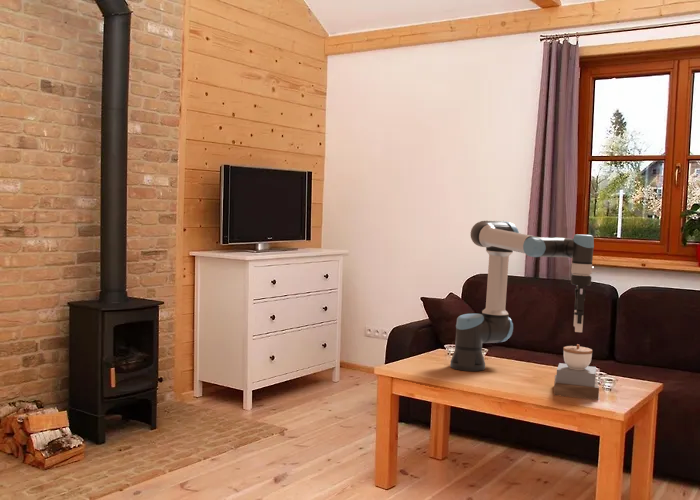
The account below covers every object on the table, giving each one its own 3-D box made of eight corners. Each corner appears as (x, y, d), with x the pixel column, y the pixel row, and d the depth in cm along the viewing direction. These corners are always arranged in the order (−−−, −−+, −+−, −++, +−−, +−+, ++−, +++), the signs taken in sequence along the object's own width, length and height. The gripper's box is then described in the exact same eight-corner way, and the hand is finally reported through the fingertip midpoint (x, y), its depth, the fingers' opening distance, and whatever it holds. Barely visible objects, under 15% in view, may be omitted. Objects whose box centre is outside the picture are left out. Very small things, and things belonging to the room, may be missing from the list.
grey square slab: (558, 375, 295) (559, 363, 295) (595, 379, 291) (596, 367, 290) (556, 382, 282) (556, 369, 282) (594, 387, 277) (595, 374, 277)
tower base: (554, 387, 296) (554, 374, 296) (596, 391, 292) (596, 378, 292) (553, 396, 281) (554, 383, 281) (598, 401, 277) (599, 387, 276)
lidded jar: (568, 364, 293) (570, 340, 293) (595, 368, 287) (596, 344, 286) (557, 368, 285) (559, 344, 284) (585, 373, 278) (586, 348, 278)
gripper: (593, 278, 271) (589, 335, 273) (589, 272, 295) (586, 325, 297) (572, 276, 273) (568, 333, 275) (570, 271, 297) (566, 323, 299)
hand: (577, 329), depth 286 cm, fingers open, 13 cm apart
